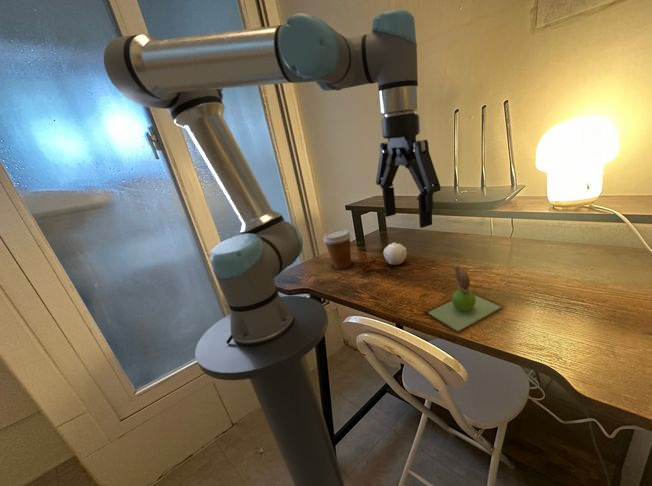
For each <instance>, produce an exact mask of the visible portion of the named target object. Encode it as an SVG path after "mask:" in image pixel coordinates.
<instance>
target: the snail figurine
mask: <svg viewBox="0 0 652 486" xmlns="http://www.w3.org/2000/svg"><path fill="white" fill-rule="evenodd" d="M458 261H459V258H456V259H455V258H454V259H453V262H454V263H453V264H454V265H453V268H454V276H455V277H454V278H455V281H456V285H457V286H458V288H459V289H457V290H456V291H454V292H453V294H452V296H451V301H452V304H453V306H454V307H455V308H456V309H457V310H459V311H462V312H466V311H469V310H471V309H472V308H473V307H474V305H475V302H476V299H475V295H476V294H474V292H473V291H471V290H470V289H468V288H470V286H471V279H470V275H469V274H468V272H467V271H466V270H460V269H461V266H460V264H459V263H458Z"/></svg>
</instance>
